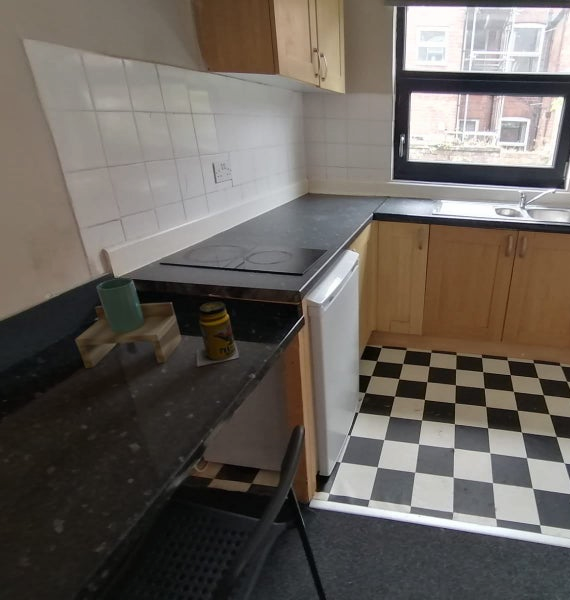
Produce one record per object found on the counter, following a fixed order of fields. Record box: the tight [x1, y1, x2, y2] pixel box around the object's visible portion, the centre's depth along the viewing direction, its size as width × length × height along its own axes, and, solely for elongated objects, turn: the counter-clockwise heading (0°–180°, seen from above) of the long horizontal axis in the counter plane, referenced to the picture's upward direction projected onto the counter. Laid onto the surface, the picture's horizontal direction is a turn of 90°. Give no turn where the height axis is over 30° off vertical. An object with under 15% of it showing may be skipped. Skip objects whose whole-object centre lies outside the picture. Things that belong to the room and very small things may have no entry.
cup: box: [95, 277, 145, 333], centre depth 86 cm, size 6×6×10 cm
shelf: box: [74, 301, 183, 369], centre depth 89 cm, size 16×10×10 cm, turn 97°
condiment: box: [195, 301, 240, 368], centre depth 88 cm, size 7×8×12 cm
